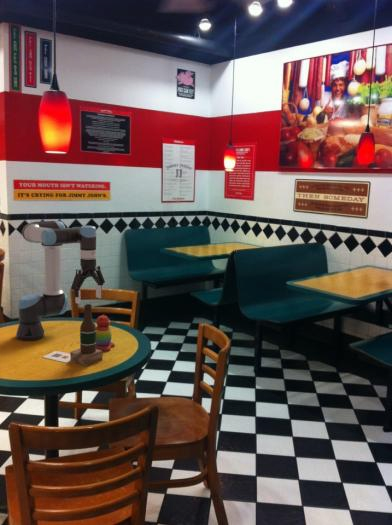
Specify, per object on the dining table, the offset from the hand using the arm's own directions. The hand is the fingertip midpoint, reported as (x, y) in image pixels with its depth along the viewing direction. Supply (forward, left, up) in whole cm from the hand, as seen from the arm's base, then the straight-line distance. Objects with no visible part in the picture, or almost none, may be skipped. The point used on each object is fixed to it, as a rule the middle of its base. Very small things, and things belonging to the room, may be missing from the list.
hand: (88, 300), depth 249 cm
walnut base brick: (0, -2, -31) cm, 31 cm away
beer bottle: (+1, -1, -26) cm, 26 cm away
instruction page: (-14, -6, -31) cm, 34 cm away
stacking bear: (-7, +17, -31) cm, 36 cm away
